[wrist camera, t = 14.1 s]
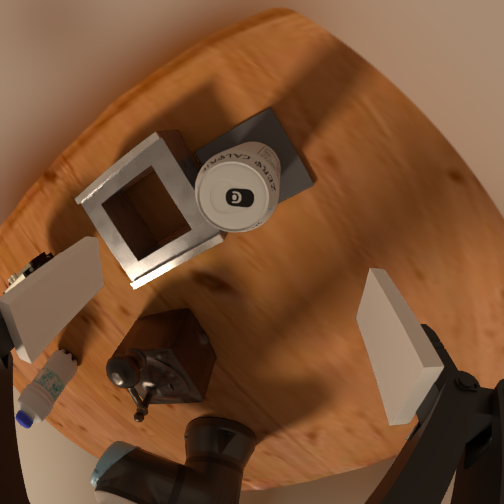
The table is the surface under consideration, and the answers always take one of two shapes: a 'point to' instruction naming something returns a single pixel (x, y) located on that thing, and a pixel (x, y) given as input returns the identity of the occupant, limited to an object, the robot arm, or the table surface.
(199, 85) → the table surface
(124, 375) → the brown manual coffee grinder
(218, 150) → the mat
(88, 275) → the robot arm
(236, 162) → the energy drink can
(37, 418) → the bottle
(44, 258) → the pneumatic valve
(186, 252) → the housing
